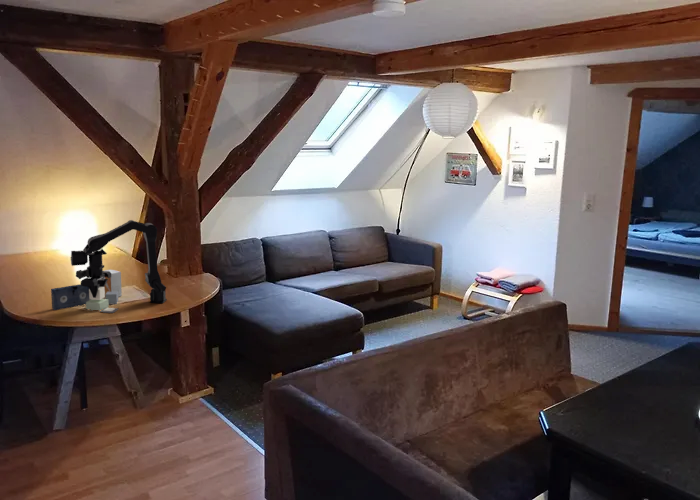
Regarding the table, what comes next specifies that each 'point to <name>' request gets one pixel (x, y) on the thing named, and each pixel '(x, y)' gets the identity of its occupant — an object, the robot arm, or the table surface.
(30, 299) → the table surface
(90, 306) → the sage block
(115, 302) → the slate cube
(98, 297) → the cream cube
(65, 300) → the vhs cassette tape
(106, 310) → the swatch
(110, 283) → the small box
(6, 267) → the table surface
